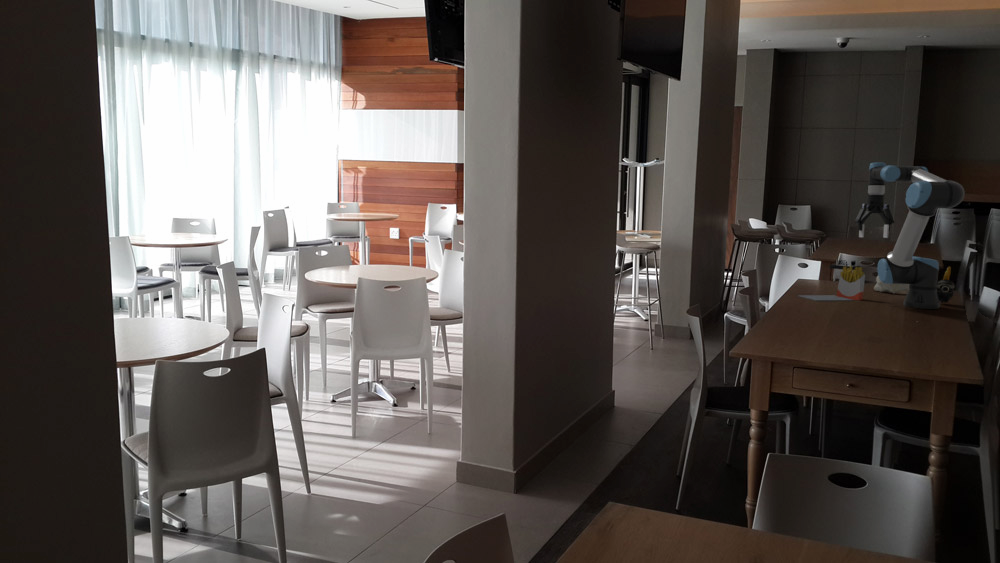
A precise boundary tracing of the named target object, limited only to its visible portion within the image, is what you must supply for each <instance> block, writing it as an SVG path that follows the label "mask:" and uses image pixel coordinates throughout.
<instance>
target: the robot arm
mask: <svg viewBox="0 0 1000 563" xmlns="http://www.w3.org/2000/svg"><path fill="white" fill-rule="evenodd" d="M886 182H887V183H890V182H891V183H893V182H894V183H895V182H896V183H911V184H910V185H909V187H908V188H907V190H906V192H905V196H906V197H905V204H906V206H907V209H908V210H909V211H908V213H907V215H906V218H905V221H904V223H903V226H902V228H901V231H900V233H899V235H898V238H897V240H896V243H895V245H894V247H893V250H892V251H889V252H888V253H887V255H886V258H881V259H879V261H878V263H877V276H879V279H880V280H881V281H882V282H883V283H885V284H908V285H909V290H908V291H907V293H906V296H905V298H904V300H903V306H904V307H908V308H914V309H922V310H923V309H924V310H937V309H940V306H941V304H940V303H941V302H939V299H938V295H937V283H938V282H939V281H938V280H939V279H938V278H939V271H940V263H939V261H938V260H937V259H932V258H927V257H921V256H914V254H915V252H916V250H917V248H918V245H919V243H920V240H921V239H922V236H923V233H924V230H925V229H926V226H927V225H928V222H929V220H930V217H933V216H935V215H936V212H937V210H938V209H952V208H954V207H957V206H959V204H961V203H962V202H963V200H964V199H965V193H966V192H965V189H964V187H963V185H962V184H961V183H958V182H957V181H954V180H953V179H952V180H951V179H949V180H946V179H945V178H942V177H940V176H937V175H935V174H934V173H931V172H929V170H928V167H925V166H919V165H917V166H909V165H908V166H907V165H893V164H892V165H890V164H888V165H887V164H886V163H885V162H871V163H870V164H869V168H868V185H867V186H868V187H867V188H868V189H867V194H868V195H867V200H866V201H867V203H861V207H860V209H859V212H858V214H857V216H856V218H855V220H854V223H855V224H857V225H858V226H857V228H858V238H865V237H864V236H865V224H864V223H865V221H867V219H869V217H870V216H871V214H878V215H879V217H880V218H881V219H882V220H883V222H884V224H883V236H882V238H884V239H885V238H886V239H888V238H889V232H890V230H891V225H892V224H894V223H895V221H894V218H893V217H894V216H893V215H892V212H891V210H890V204H884V202H885V195H884V194H885V193H886Z"/></svg>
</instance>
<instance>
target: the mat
mask: <svg viewBox="0 0 1000 563" xmlns="http://www.w3.org/2000/svg"><path fill="white" fill-rule="evenodd" d="M797 297H800V298H802V299H807V300H812V301H814V302H850V301H851V302H854V300H853V299H848V298H843V297H837V295H835V294H832V295H831V294H828V295H827V294H826V295H825V294H823V295H822V294H821V295H820V294H818V295H816V294H815V295H814V294H807V295H805V294H803V295H802V294H800V295H799V294H798V295H797Z"/></svg>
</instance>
